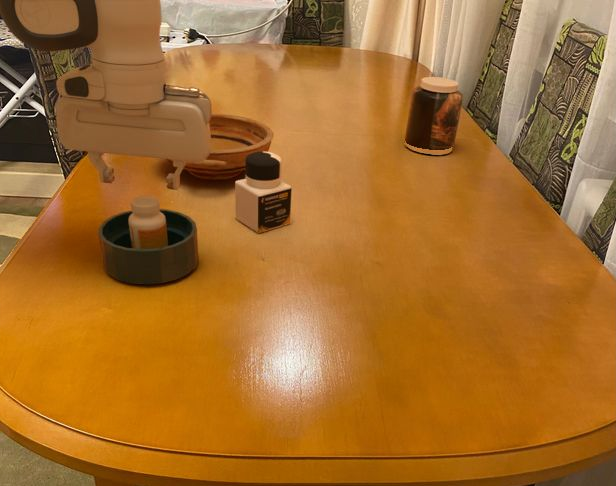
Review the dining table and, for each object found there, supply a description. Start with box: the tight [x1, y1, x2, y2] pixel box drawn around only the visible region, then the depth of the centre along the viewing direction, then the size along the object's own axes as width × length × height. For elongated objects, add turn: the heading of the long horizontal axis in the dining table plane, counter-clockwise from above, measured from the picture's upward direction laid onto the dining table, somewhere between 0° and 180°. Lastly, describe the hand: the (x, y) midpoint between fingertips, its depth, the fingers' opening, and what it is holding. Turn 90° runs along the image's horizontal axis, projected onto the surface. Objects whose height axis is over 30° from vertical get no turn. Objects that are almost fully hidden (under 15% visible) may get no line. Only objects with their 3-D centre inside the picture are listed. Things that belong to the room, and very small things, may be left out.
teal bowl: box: [97, 208, 200, 285], centre depth 92 cm, size 14×14×6 cm
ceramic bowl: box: [165, 113, 274, 180], centre depth 124 cm, size 30×24×8 cm
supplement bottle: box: [128, 195, 168, 249], centre depth 90 cm, size 5×5×10 cm
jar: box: [404, 76, 464, 150], centre depth 141 cm, size 12×12×15 cm
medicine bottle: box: [234, 151, 292, 234], centre depth 104 cm, size 7×7×12 cm
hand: (140, 184), depth 86 cm, fingers open, 8 cm apart
